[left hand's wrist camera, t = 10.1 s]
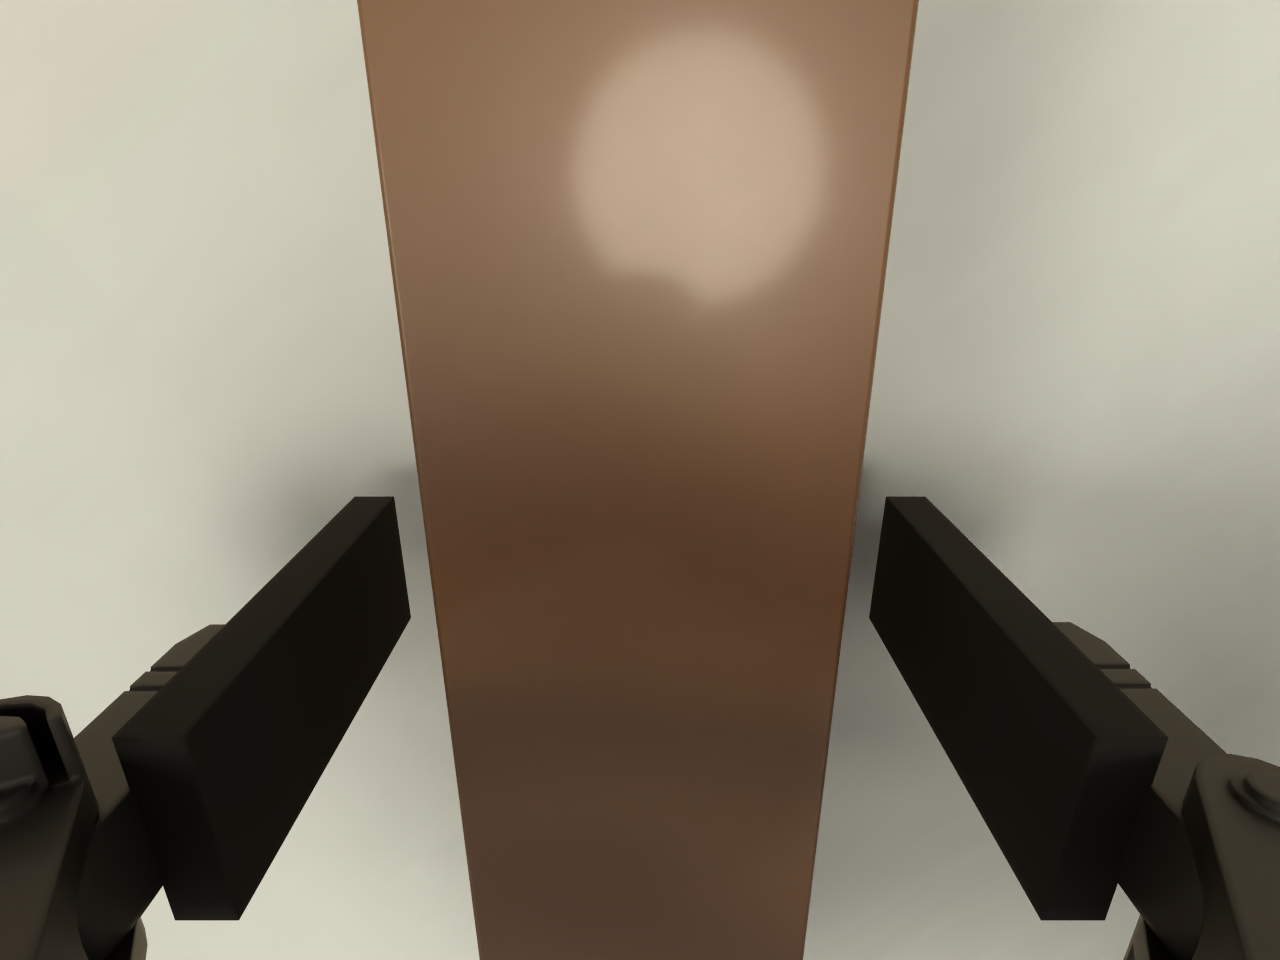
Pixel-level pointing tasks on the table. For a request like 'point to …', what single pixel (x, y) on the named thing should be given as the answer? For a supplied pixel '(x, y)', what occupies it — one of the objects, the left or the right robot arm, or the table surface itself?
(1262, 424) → the table surface
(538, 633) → the bar
